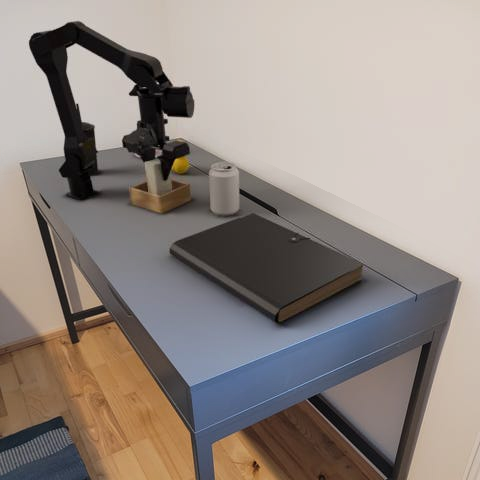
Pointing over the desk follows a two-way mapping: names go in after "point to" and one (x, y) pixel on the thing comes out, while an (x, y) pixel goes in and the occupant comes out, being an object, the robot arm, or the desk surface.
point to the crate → (160, 197)
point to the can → (224, 188)
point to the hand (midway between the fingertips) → (158, 178)
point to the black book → (268, 265)
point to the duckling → (180, 164)
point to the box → (156, 178)
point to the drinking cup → (89, 133)
